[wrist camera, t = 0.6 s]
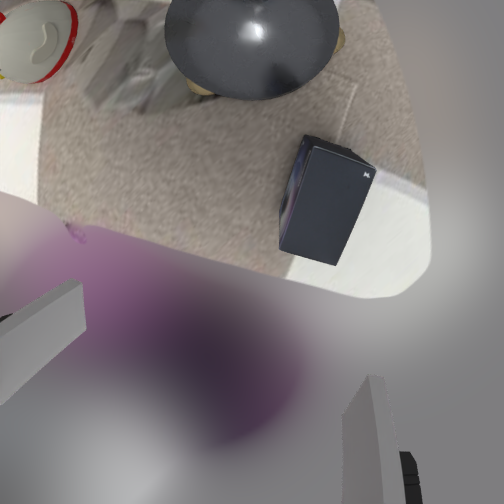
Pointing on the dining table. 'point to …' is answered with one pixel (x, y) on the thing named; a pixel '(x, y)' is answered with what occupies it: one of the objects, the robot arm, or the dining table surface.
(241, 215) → the dining table surface
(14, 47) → the kitchen timer
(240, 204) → the dining table surface
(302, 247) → the small box
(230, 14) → the plate
